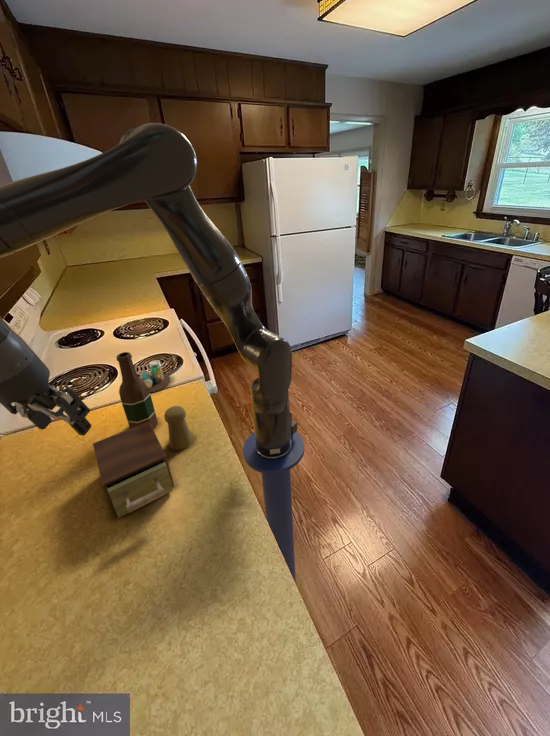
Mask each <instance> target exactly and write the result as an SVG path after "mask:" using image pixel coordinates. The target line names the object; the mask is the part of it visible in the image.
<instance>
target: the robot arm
mask: <svg viewBox="0 0 550 736" xmlns="http://www.w3.org/2000/svg"><path fill="white" fill-rule="evenodd" d="M197 165H198V162H197V156H196V151H195V149H194V147H193V145H192V143H191V142H190V141H189V139H188V138H187V137H186V136H185V135H184V134H183V133H182V132H181V131H180V130H178V129H176V128H175V127H173V126H171V125H169V124H166V123H161V122H148V123H143V124H141V125H137V126H135V127H132V128H130V129H128V130H127V131H125V133H123V135H122V136H121V138H120V139H119V142H118V144H116V145H115V146H113V147H111V148H110V149H108V150H106V151H104V152H101V153H99V154H98V155H95V156H93V157H90V158H88V159H86V160H83V161H79V162H77V163H74V164H71V165H68V166H64V167H62V168H61V167H60V168H58V169H54V170H51V171H45V172H43V173H39V174H36V175H32V176H27V177H24V178H20V179H17V180H14V181H10V182H8V183H5V184H2V185H0V259H1V258H4V257H8V256H11V255H13V254H15V253H16V252H17V253H18V252H20V251H23V250H25V249H27V248H29V247H32V246H34V245H36V244H38V243H41V242H43V241H46V240H48V239H50V238H52V237H53V236H56V235H58V234H61V233H64V232H65V231H67V230H70V229H71V228H74V227H77V226H78V225H81V224H83V223H84V222H87V221H89V220H92V219H93V218H96V217H99V216H101V215H104V214H105V213H108V212H112V211H114V210H116V209H120V208H122V207H126V206H129V205H132V204H137V203H139V202H143V201H144V202H145V203H146V205H147V206H148V207H149V209H150V210H151V211H152V212H153V214H154V215H155V217H156V218H157V219H158V221H159V223H161V225H162V226H163V228H164V230H165V231H166V232H167V234H168V236H169V238H170V240H171V241H172V243H173V245H174V247H175V249H176V250H177V253H178V254H179V256H180V258H181V260H182V261H183V263H184V265H185V266H186V268H187V270H188V272H189V273H190V275H191V277H192V278H193V280H194V282H195V283H196V285H197V286H198V288H199V289H200V291H201V293H202V294H203V295H204V297H205V298H206V300H207V301H208V303H209V305H210V306H211V307H212V308H213V311H214V312H215V314H216V315H217V316H218V317H219V318H220V320H221V321H222V322H223V324H224V326H225V327H226V329H227V331H228V332H229V334H230V336H231V338H232V341H233V343H234V344H235V347H236V349H237V351H238V353H239V355H240V357H241V358H242V360H243V361H244V362H245V364H247V365H248V366H250V367H251V368H253V369H254V370H256V371H257V372H258V377H257V378H255V379H254V380H253V381H252V382H251V384H250V387H249V389H250V399H251V409H252V417H253V418H252V419H253V427H254V428H253V429H254V432H255V438H256V450H257V453H258V454H259V455H260V456H261V457H263V458H265V459H269V460H276V459H280V458H282V457H284V456H286V455H287V454H288V453H289V452H290V450H291V446H292V445H291V442H292V441H293V434H294V433H295V432H297V431H298V421H295V420H294V419H293V414H292V412H291V410H290V409H291V408H290V387H291V385H292V384H291V383H292V378H293V377H292V376H293V375H292V372H293V351H292V347H291V345H290V343H289V341H288V340H287V339H286V338H284V337H282V336H280V335H278V334H276V333H273V332H271V331H270V330H268V329H267V328H266V327H265V326H264V325H263V323H262V321H261V320H260V319H259V317H258V315H257V313H256V312H255V310H254V307H253V291H252V284H251V281H250V278H249V275H248V273H247V271H246V269H245V267H244V265H243V263H242V262H241V259H240V257H239V255H238V253H237V252H236V250H235V249H234V247H233V246H232V245H231V243H230V242H229V241H228V240H227V238H226V237H225V235H224V234H222V232H221V231H220V230H219V229H218V228H217V226H216V225H215V224H214V223H213V221H211V219H210V218H209V217H208V216H207V214H206V213H205V212H204V210H203V209H202V207H201V206H200V204H199V202H198V200H197V198H196V197H195V194H194V192H193V190H192V189H191V186H190V185H191V184H192V182H193V181H194V179H195V177H196V173H197V167H198V166H197ZM50 375H51V372H50V369H49V368H48V366H47V365H46V364H45V363H44V362H43V360H42V359H41V358H40V357H39V356H38V355H37V354H36V352H35V351H34V350H33V349H32V348H31V347H30V345H29V344H28V343H27V342H26V341H25V340H24V339H23V337H22V336H21V335H19V334H18V333H17V332H15V330H14V329H12V328H11V326H9V324H8V323H7V322H6V321H5V320H4V318H2V316H1V315H0V404H1V405H2V406H3V408H5V409H6V410H7V411H8V412H9V413H10V414H11V415H17V414H18V413H19V415H20V416H21V417H22V418H25V419H28V420H29V421H30V422H31V423H32V424H33V425H34V426H35V427H37V428H38V429H39V430H46V428H47V427H49V425H50V424H51V423H52V421H53V420H58V419H60V420H62V421H63V422H65V423H67V424H68V425H69V426H70V427H71V428H72V429H73V430H74V431H75V433H77V434H78V435H79V436H83V437H85V435H87V433H89V431H90V429H91V428H92V424H91V423H90V421H89V420H88V419H87V418H86V417H87V415H88V414H89V413H90V412H91V409H90V408H89V406H87V405H86V403H84V401H83V400H82V399H81V398H80V397H79V396H78V395H77V394H76V393H75V391H74V390H73V389H72V388H69V387H65V388H64V390H62V391H58V389H57V388H56V387H54V386H52V385H51V384H49V383H50ZM12 404H14V405H12ZM56 407H57V408H59V409H57V410H56V411H54V409H55V408H56Z"/></svg>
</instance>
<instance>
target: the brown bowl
mask: <svg viewBox="0 0 550 736" xmlns="http://www.w3.org/2000/svg"><path fill="white" fill-rule="evenodd" d="M148 364H149V370H147V369H146V370H143V371H141V372H140V374H139V378H141V379H142V380H143V381H144V382H145V383H146V385H147V387H148V389H149V392H150V394H153V393H157V392H159V391H162V390H163V389H165V388H166V387H168V386H169V384H170V383H171V377H170V375H168V374H166V373H164V372H163V368H162V364H161V361H160V360H158V359H154V360H151V361H150V362H149V363H148Z"/></svg>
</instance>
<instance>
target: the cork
mask: <svg viewBox="0 0 550 736" xmlns="http://www.w3.org/2000/svg"><path fill="white" fill-rule="evenodd" d="M186 413H187V412H186V410H185V408H183V407H182V406H180V405H173V406H170V407H168V408H167V409H166V410H165V412H164V415H163V418H164V421H165V422H166V423H167V427H168V440H169V441H168V443H169V447H170V448H171V449H172V450H174V451H180V450H181V451H182V450H184V449H187V448H188V447H190V446H191V445H192V443H193V441H194V438H193V436H192V434H191V431H190V429H189V426H188V424H187V421H186V419H185V418H186V416H187V415H186Z"/></svg>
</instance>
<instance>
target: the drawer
mask: <svg viewBox="0 0 550 736" xmlns="http://www.w3.org/2000/svg"><path fill="white" fill-rule="evenodd" d="M111 486H112V487H110V488H108V489H107V490H108V493H109V496H110V498H111V501H112V503H113V506H114V508H115V511H116V513H117V516H116V517H117V518H118V519H120V518H121V517H123V516H125V515H128V514H130V513H132V512H134V511H136V510H138V509H140V508H142V507H144V506H146V505H148V504H149V503H152V502H153V501H155V500H157V499H159V498H161V497H164V496H165V495H167V494H168V493H170V492H172V491H174V487H172V484H171V480H170V477H169V473H168V469H167V466H166V463H165V462H163V463H161V462H158V463H156V464H154V465H152V466H149V467H147V468H145V469H143V470H141V471H139V472H136V473H134V474H132V475H130V476H128V477H126V478H123V479H121V480H119V481H117V482H115V483H113V484H111Z"/></svg>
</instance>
